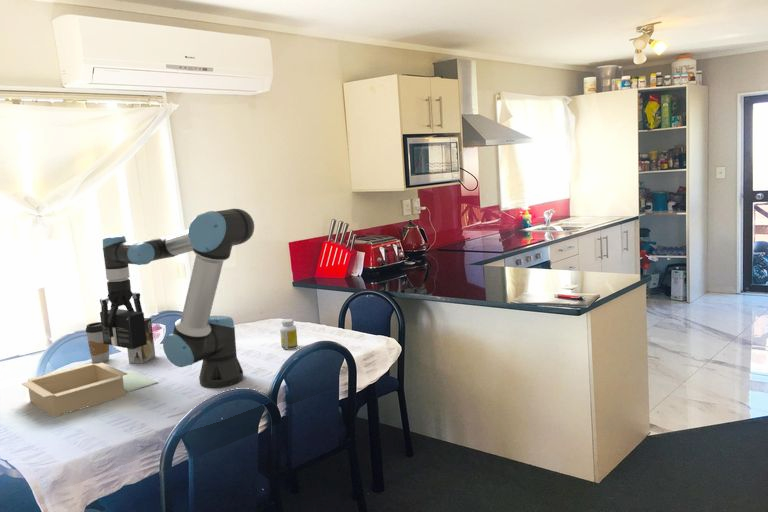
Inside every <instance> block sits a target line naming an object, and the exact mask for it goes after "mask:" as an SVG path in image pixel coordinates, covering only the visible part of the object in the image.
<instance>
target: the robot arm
mask: <svg viewBox="0 0 768 512" xmlns="http://www.w3.org/2000/svg"><path fill="white" fill-rule="evenodd" d="M254 232H255V221H254V220H253V217H252V215H251V214H250V213H248V212H247V211H245V210H244V209H240V208H229V209H224V210H216V211H214V210H211V211H210V210H209V211H207V212H203V213H201V214H198V215H196V216H195V217H194V218H193V219H192V220H191V222H190V223H189V226H188V229H185V230H182V231H180V232H176V233H172V234H170V235H169V234H168V235H165V236H160V237H157V238H152V239H145V240H139V241H127V239H126V236H125V235H123V234H116V235H115V234H114V235H107V236H104V237H103V238H102V251H103V260H104V261H103V262H104V266H105V274H106V276H105V277H106V280H107V282H106V286H107V287H106V288H107V294H108V295H107V296H106V297H105V298H100V299H99V303H100V305H101V308H100V309H101V310H100V312H101V317H100V322H101V326H102V327H105V328H107V329H108V336H109V337H111V341H112V345H111V346H114V347H118V346H117V338H116V329H115V328H114V327H113V325H114V321H115V314H116V313H117V309H119V307H122V306H124V307H125V308H126V310H128V311H136V312H143V309H142V303H141V293H139V292H132V288H131V287H132V286H131V279H130V277H131V276H130V268H129V265H137V266H141V265H142V266H143V265H148V264H150V263H151V262H154V261H158V260H163V259H168V258H174V257H176V256H180V255H182V254H186V253H190V252H193V253H194V254H195V257H194V258H195V259H194V262H193V266H192V267H193V268H192V272H191V275H190V280H189V284H188V287H187V288H188V289H187V293H186V297H185V301H184V305H183V310H182V314H181V318H179V319H177V320H176V321H175V323H174V327H173V332H171V333H168V334H167V335H166V336H165V337H164V339H163V342H162V347H163V349H162V350H163V352H164V354H165V356H166V358H167V360H168V362H170V363H171V364H172V365H174V366H176V367H178V368H184V367H188V366H192V365H194V364H196V363H198V362H200V361H202V364H201V368H200V373H199V376H198V377H199V378H198V380H199V384H200V385H201V387H206V388H223V387H229V386H232V385H236V384H238V383H240V382H242V381H243V379H244V371H243V368H242V366H241V364H240V361H239V359H238V356H237V343H236V342H237V341H236V327H235V322H234V319H233V318H232V317H231V316H227V315H211V314H212V313H211V312H212V308H213V305H214V301H215V297H216V294H217V293H216V292H217V290H218V289H217V288H218V286H219V281H220V276H221V273H222V268H223V264H224V262H225V261H227V260H228V259H229V258H230V256H231V253H232V249H233V246H238V245H239V246H240V245H242V244H245V243H246V242H248V241H249V240H250V239H251V238H252V236H253V235H254ZM131 299H133V304H134V307H135V309H134V308H133V305H132V302H131ZM109 302H110V303H111V304H110V309H108V304H109ZM108 310H110V314H109V318H108Z"/></svg>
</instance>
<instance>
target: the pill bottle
mask: <svg viewBox="0 0 768 512" xmlns="http://www.w3.org/2000/svg"><path fill="white" fill-rule="evenodd" d="M281 325H282V326H281V327H280V328H279V329H280V343H281V349H282V348H283V349H282V350H285V349H291V350H294V348H295V349H297V348H298V346H299V345H298V333H297V327H296V325H294V319H293V318H285V319H282V320H281ZM296 347H297V348H296Z"/></svg>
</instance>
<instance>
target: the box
mask: <svg viewBox="0 0 768 512" xmlns="http://www.w3.org/2000/svg"><path fill="white" fill-rule="evenodd" d="M110 310H111V309H108V318H109V314H110ZM99 315H100V318H101V311H100V312H99ZM144 318H145V312H143V311H142V312H136V310H134V311H128V310H127V309H122V308H118V309H117V313H116V314H115V321H114V325H113V327H114V328H115V329H116V338H117V346H116V347H120V348H123V349H127V348H129V349H135V348H138V347H141V346H143V345H146V344H147V339H146V330H145V321H144ZM102 333H103V342H104V344H108V345H109V346H113V345H112V341H111V337H109V336H108V329H107V328H105V327H102Z"/></svg>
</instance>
